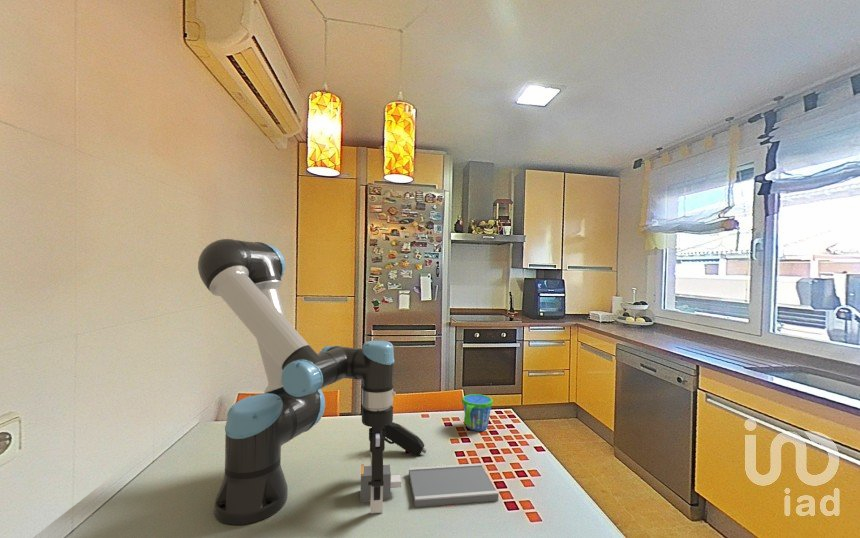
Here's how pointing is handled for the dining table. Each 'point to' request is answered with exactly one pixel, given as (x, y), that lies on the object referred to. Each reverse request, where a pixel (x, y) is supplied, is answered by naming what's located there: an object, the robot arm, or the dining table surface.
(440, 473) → the slate pad
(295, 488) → the dining table surface
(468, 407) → the snack cup
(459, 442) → the dining table surface
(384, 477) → the block
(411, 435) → the gun
